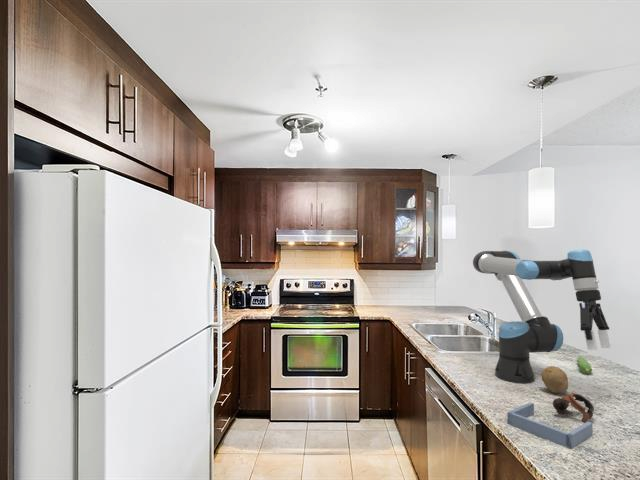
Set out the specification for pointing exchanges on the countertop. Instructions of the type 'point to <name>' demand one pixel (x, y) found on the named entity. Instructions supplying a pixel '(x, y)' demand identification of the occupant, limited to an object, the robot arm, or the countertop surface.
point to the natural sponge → (555, 379)
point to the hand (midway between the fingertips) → (599, 348)
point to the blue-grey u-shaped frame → (548, 427)
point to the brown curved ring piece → (574, 405)
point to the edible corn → (584, 365)
